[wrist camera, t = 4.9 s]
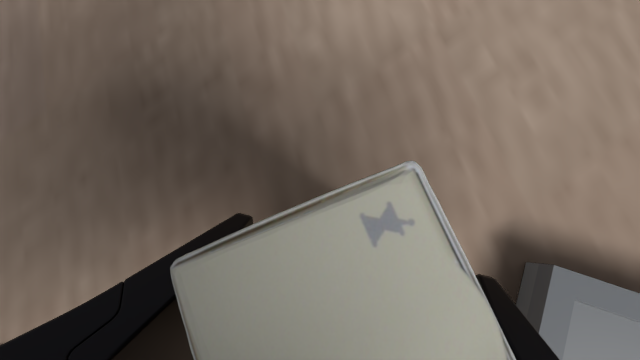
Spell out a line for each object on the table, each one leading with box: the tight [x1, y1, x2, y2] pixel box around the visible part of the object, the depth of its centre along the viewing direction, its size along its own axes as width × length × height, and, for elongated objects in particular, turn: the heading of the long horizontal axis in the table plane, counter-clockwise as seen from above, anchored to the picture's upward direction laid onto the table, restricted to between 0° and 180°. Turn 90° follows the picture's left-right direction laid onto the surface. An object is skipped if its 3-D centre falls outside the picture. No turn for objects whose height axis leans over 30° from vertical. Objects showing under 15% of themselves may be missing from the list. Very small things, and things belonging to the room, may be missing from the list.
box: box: [170, 161, 516, 360], centre depth 10 cm, size 5×4×11 cm
